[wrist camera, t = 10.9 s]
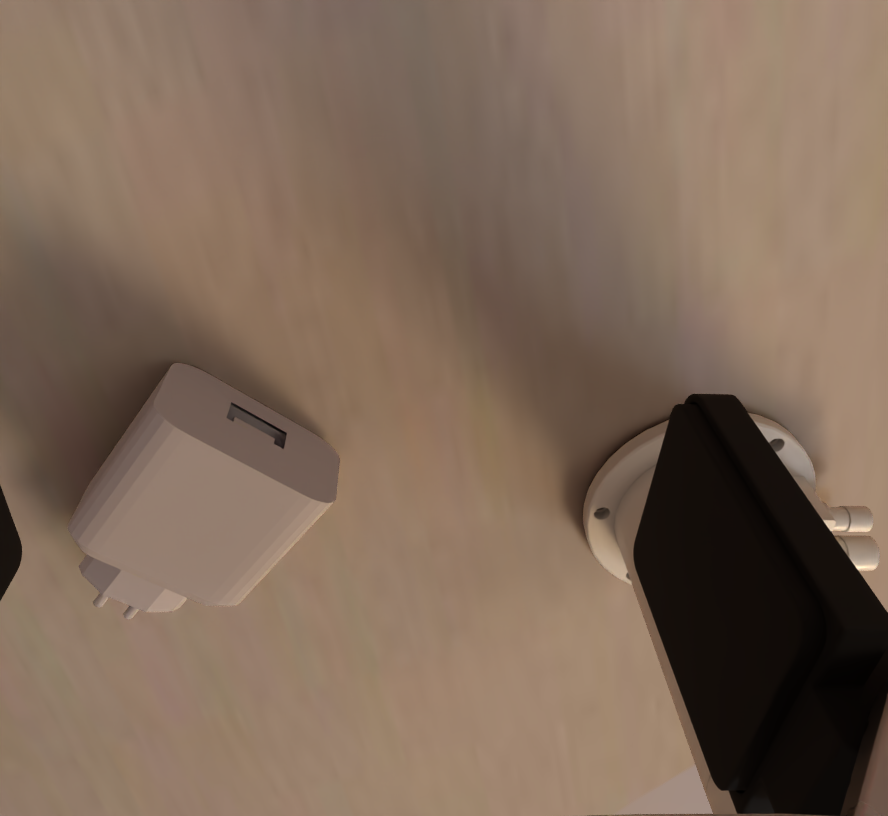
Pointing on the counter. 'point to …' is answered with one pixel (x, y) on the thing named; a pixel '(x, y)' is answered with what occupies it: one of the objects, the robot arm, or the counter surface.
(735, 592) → the robot arm
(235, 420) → the charger
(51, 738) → the counter surface
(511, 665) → the counter surface
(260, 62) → the counter surface
